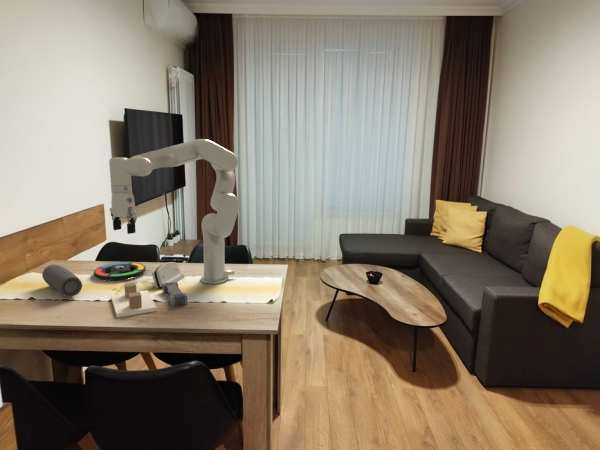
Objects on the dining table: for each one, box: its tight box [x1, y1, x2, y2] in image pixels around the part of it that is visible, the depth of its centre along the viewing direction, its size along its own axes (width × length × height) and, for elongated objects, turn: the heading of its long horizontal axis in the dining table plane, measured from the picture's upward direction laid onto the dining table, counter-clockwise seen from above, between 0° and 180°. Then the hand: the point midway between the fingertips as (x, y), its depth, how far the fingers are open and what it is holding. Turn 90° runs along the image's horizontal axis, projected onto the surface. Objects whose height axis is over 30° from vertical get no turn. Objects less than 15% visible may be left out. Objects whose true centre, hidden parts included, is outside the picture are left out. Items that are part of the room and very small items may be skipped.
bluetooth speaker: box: [41, 264, 83, 298], centre depth 170 cm, size 23×9×10 cm, turn 47°
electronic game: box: [93, 261, 147, 282], centre depth 194 cm, size 23×23×5 cm
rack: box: [110, 281, 158, 318], centre depth 160 cm, size 14×20×6 cm
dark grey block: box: [161, 282, 188, 308], centre depth 168 cm, size 6×18×4 cm, turn 30°
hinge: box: [151, 261, 185, 289], centre depth 186 cm, size 17×5×10 cm, turn 166°
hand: (124, 231), depth 164 cm, fingers open, 9 cm apart
